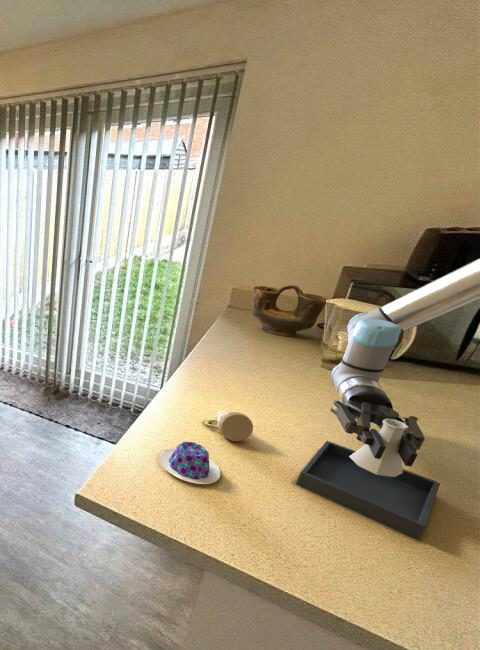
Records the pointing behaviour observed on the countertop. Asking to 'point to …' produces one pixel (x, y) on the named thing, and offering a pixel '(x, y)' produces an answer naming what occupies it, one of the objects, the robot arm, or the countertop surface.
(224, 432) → the mug
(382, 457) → the flask
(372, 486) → the tray
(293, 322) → the pottery vessel
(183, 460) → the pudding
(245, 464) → the countertop surface
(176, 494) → the countertop surface
